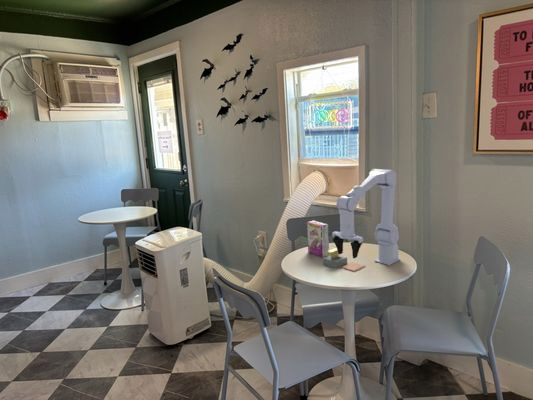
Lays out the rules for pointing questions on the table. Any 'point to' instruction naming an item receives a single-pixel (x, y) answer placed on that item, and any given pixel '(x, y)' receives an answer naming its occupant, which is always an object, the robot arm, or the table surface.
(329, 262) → the slate socket block
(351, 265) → the terracotta pad
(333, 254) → the brass rectangular peg
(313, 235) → the candy bar box
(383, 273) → the table surface
